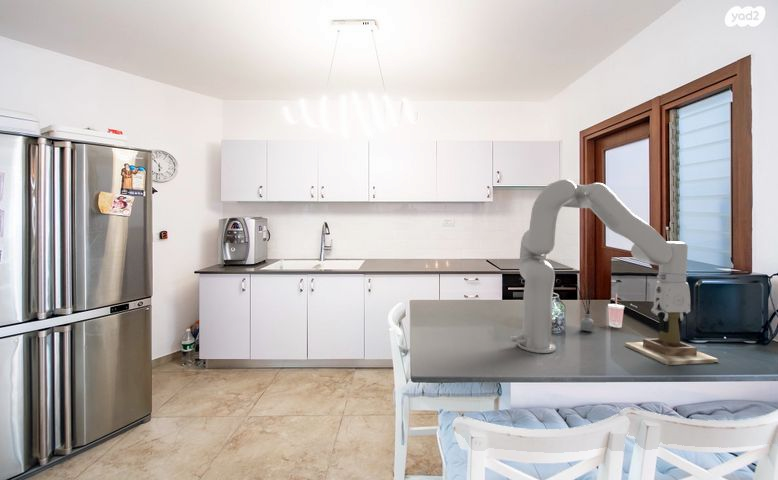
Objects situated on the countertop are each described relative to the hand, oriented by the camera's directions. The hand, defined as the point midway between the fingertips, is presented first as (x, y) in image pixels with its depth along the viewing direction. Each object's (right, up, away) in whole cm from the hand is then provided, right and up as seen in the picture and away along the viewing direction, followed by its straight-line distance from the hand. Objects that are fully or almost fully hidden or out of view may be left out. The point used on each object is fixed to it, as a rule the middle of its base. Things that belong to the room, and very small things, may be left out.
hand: (669, 330), depth 128 cm
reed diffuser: (-15, -7, +27) cm, 32 cm away
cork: (0, -3, 0) cm, 3 cm away
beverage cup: (+2, -6, +34) cm, 35 cm away
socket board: (0, -8, 0) cm, 8 cm away
